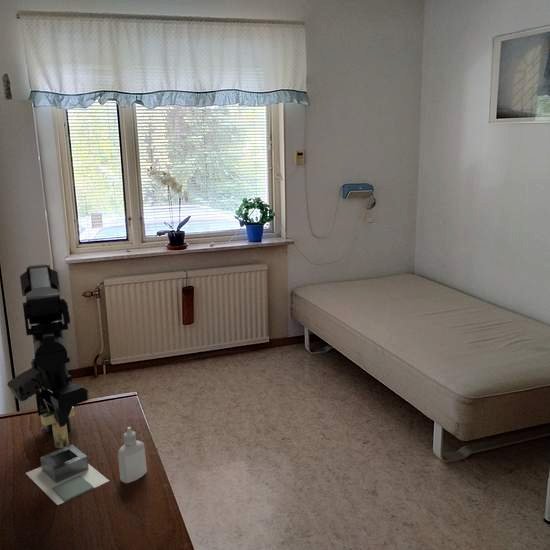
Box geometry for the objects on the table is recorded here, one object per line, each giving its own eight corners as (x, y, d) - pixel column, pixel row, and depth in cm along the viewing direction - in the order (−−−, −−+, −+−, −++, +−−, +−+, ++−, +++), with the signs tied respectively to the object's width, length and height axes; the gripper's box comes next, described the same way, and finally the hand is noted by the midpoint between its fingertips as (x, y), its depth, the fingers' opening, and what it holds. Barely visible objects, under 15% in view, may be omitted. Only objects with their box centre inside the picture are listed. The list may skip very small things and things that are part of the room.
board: (26, 477, 120) (25, 473, 119) (75, 456, 127) (74, 452, 127) (58, 509, 108) (57, 505, 108) (110, 485, 116) (109, 480, 116)
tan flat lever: (73, 436, 122) (69, 403, 120) (79, 441, 120) (75, 407, 118) (44, 448, 118) (39, 414, 116) (49, 453, 116) (45, 418, 114)
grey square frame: (41, 469, 120) (39, 457, 120) (73, 456, 125) (72, 444, 124) (55, 483, 115) (54, 470, 115) (88, 468, 120) (87, 456, 119)
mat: (52, 489, 113) (51, 487, 113) (80, 476, 117) (80, 475, 117) (65, 501, 109) (64, 500, 109) (93, 488, 113) (93, 486, 113)
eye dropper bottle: (149, 481, 116) (144, 429, 114) (121, 488, 114) (116, 435, 112) (145, 471, 120) (141, 420, 118) (119, 477, 118) (113, 425, 116)
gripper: (-8, 353, 115) (3, 423, 119) (28, 377, 102) (39, 454, 106) (46, 339, 123) (54, 405, 126) (85, 360, 110) (93, 433, 113)
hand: (59, 423), depth 118 cm, fingers closed on tan flat lever, 3 cm apart
